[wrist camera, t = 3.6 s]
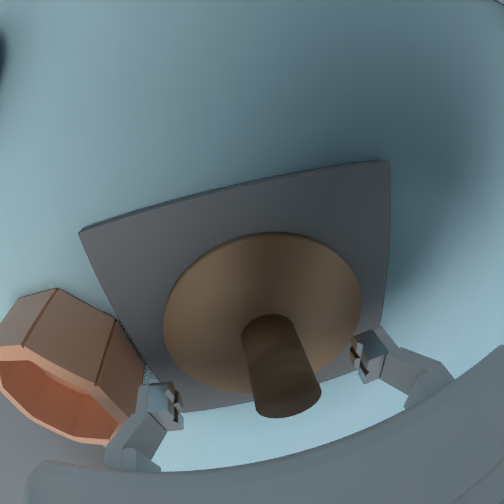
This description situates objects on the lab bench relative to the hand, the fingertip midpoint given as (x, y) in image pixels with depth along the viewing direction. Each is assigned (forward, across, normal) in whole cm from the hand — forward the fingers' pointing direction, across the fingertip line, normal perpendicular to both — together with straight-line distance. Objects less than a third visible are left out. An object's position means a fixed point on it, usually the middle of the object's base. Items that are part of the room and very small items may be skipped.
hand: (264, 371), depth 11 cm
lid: (+3, -1, 0) cm, 3 cm away
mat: (+3, -1, 0) cm, 3 cm away
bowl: (+4, +11, 0) cm, 12 cm away
